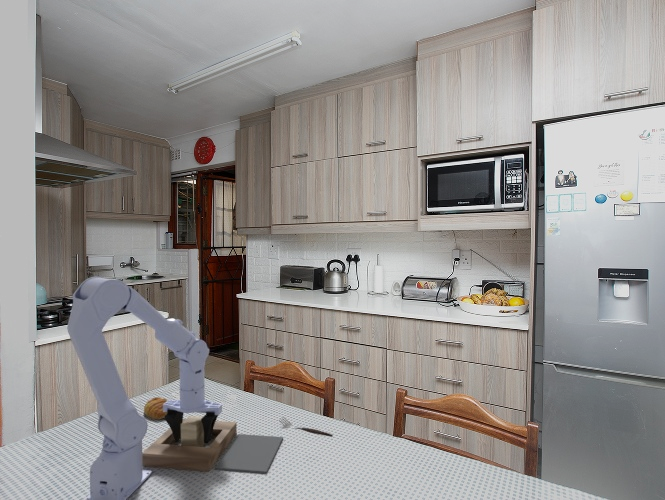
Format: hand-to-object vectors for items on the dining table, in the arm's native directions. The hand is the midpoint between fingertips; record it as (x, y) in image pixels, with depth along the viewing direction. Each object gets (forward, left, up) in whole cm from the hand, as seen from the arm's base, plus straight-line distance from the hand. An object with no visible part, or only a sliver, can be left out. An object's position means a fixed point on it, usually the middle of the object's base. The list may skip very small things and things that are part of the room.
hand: (192, 440), depth 88 cm
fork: (+12, -26, -2) cm, 29 cm away
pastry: (+16, +20, -2) cm, 26 cm away
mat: (0, -15, -2) cm, 15 cm away
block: (0, 0, -2) cm, 2 cm away
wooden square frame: (0, 0, -2) cm, 2 cm away
